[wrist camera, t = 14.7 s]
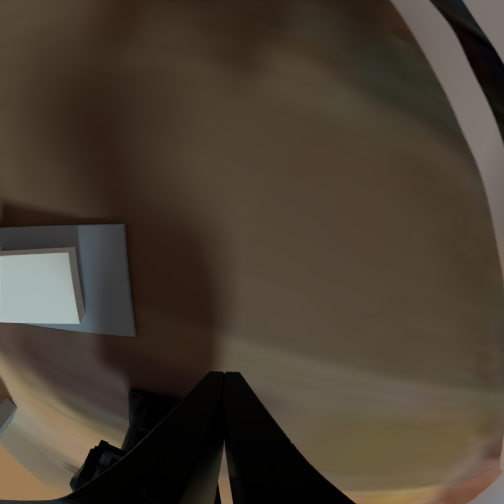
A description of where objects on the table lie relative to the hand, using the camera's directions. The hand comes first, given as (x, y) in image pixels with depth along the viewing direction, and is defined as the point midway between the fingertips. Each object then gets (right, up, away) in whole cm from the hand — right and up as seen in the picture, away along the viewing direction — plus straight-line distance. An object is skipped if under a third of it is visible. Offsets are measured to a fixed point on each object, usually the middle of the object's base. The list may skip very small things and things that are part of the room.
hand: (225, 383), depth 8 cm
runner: (-22, +2, +11) cm, 25 cm away
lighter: (-28, -15, +15) cm, 35 cm away
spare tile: (-11, +1, +10) cm, 15 cm away
